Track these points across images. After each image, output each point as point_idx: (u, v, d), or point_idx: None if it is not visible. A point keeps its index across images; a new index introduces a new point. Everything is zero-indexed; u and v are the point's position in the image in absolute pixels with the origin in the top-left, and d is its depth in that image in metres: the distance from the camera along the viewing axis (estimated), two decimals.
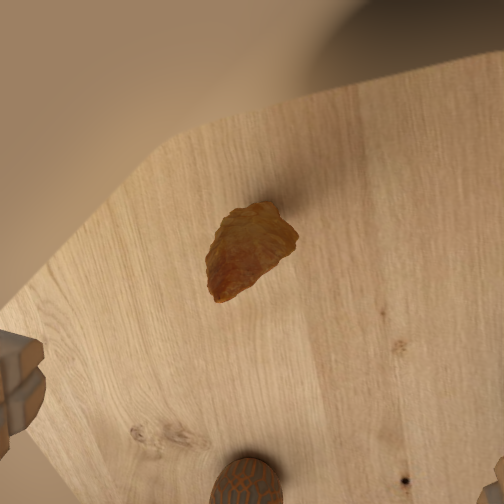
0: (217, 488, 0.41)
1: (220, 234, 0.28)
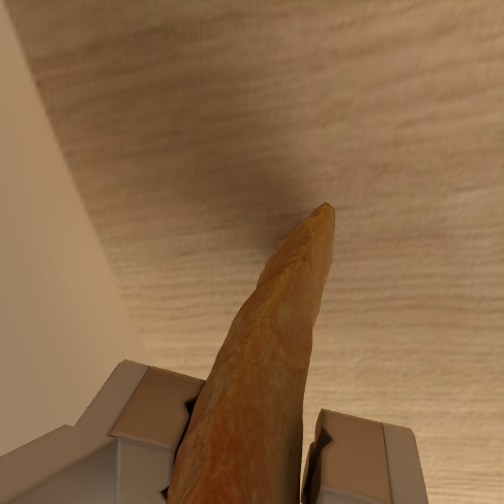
0: None
1: None
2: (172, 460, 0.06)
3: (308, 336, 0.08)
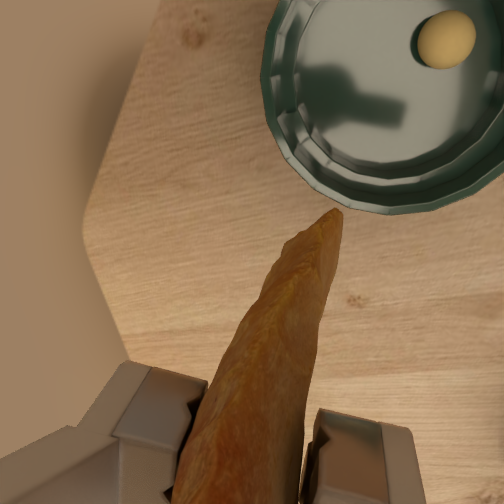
0: None
1: None
2: (175, 461, 0.06)
3: (313, 342, 0.08)
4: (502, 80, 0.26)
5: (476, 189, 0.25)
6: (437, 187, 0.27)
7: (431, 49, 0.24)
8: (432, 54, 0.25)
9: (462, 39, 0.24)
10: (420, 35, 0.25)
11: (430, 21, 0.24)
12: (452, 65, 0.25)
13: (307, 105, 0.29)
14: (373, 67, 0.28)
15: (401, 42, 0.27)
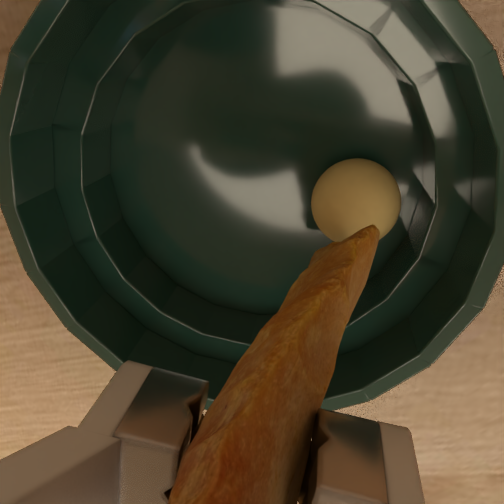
0: None
1: None
2: (176, 461, 0.06)
3: (331, 361, 0.08)
4: (423, 203, 0.16)
5: (373, 394, 0.15)
6: None
7: None
8: None
9: None
10: (330, 238, 0.15)
11: (347, 237, 0.15)
12: None
13: (133, 218, 0.19)
14: (225, 169, 0.17)
15: (264, 133, 0.16)
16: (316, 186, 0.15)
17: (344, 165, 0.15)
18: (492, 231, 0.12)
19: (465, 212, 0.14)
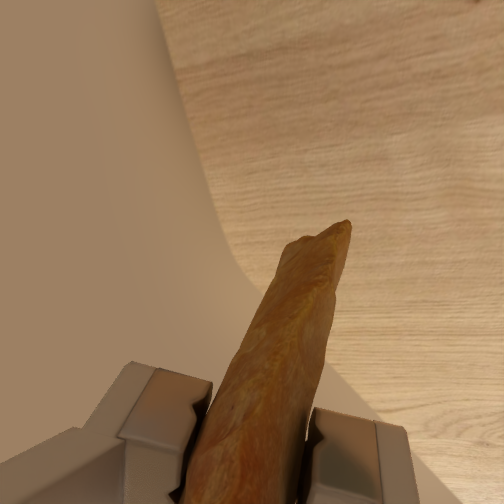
0: None
1: None
2: (181, 462, 0.06)
3: (322, 355, 0.08)
4: None
5: None
6: None
7: None
8: None
9: None
10: None
11: None
12: None
13: None
14: None
15: None
16: None
17: None
18: None
19: None
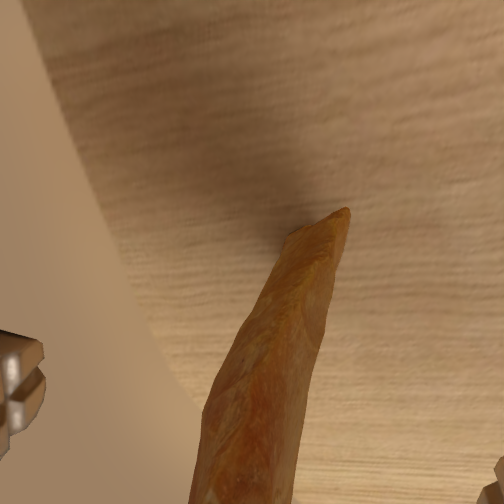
0: None
1: None
2: None
3: (322, 324, 0.09)
4: None
5: None
6: None
7: None
8: None
9: None
10: None
11: None
12: None
13: None
14: None
15: None
16: None
17: None
18: None
19: None
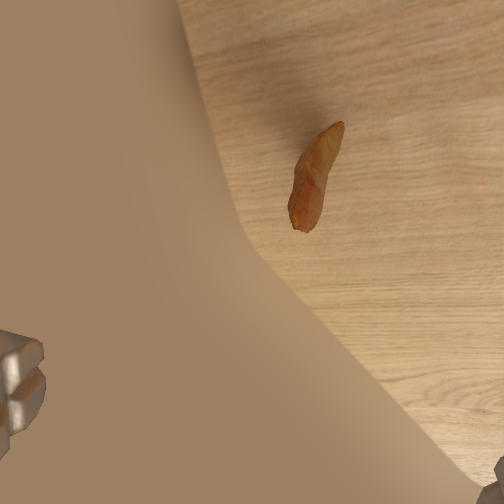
0: None
1: None
2: None
3: (333, 153, 0.24)
4: None
5: None
6: None
7: None
8: None
9: None
10: None
11: None
12: None
13: None
14: None
15: None
16: None
17: None
18: None
19: None
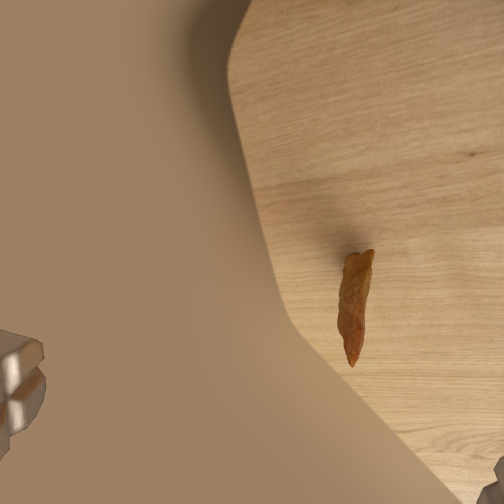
0: None
1: None
2: None
3: (369, 285, 0.33)
4: None
5: None
6: None
7: None
8: None
9: None
10: None
11: None
12: None
13: None
14: None
15: None
16: None
17: None
18: None
19: None
